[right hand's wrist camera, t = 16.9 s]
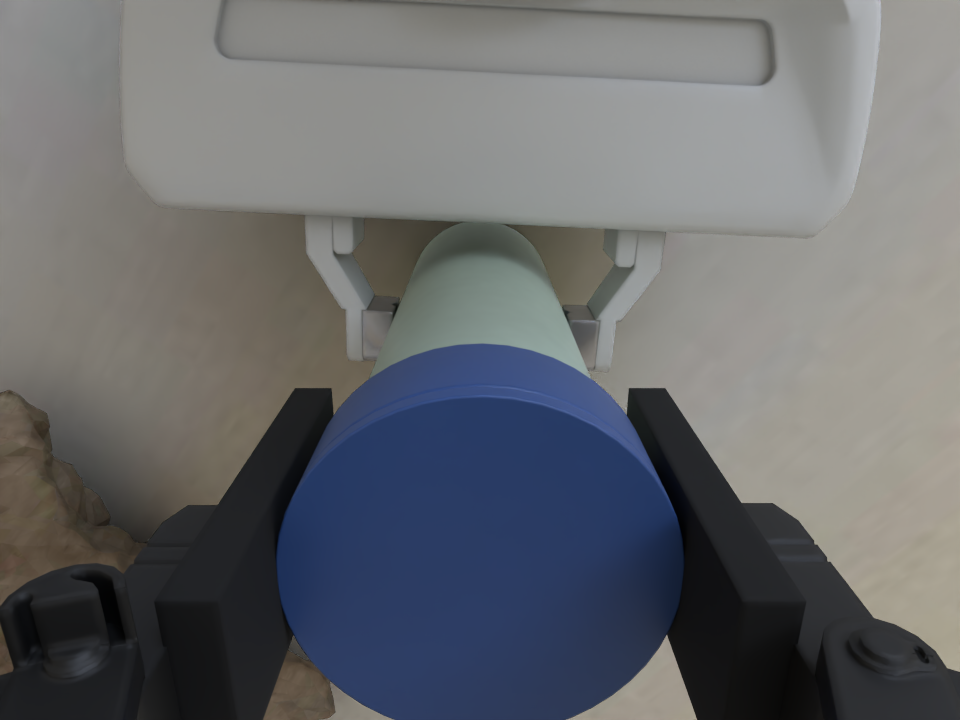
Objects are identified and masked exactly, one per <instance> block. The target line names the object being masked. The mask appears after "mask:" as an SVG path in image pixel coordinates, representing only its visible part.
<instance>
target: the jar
mask: <svg viewBox="0 0 960 720" xmlns="http://www.w3.org/2000/svg"><path fill="white" fill-rule="evenodd" d="M481 343H484V344H497V345H508V346H513V347H518V348H523V349H528V350H532V351H535V352H538V353H541V354H544V355H547V356H550V357H553V358H555V359H557V360H559V361H561V362H563V363H565V364H567V365H569V366H571V367H573V368H575V369H577V370H578V371H580V372H581V373H583V374H584V375H586V376H587V377H589V378H590V375H589V373H588V370H587V368H586V365H585V363H584V361H583V358H582V356H581V353H580V351H579V349H578V346H577V344H576V341H575V339H574V336H573V334H572V332H571V329H570V327H569V324H568V322H567V320H566V317H565V315H564V312H563V310H562V308H561V305H560V303H559V300H558V298H557V295H556V293H555V291H554V288H553V286H552V283H551V281H550V279H549V276H548V274H547V271H546V269H545V267H544V264H543V262H542V260H541V257H540V255H539V254H538V252H537V251H536V249H535V248H534V246H533V245H532V244H531V243H530V242H529V241H528V240H527V239H526V238H525V237H524V236H523V235H521V234H520V233H519V232H517V231H516V230H514V229H512V228H510V227H508V226H505V225H503V224H490V223H469V222H463V223H460V224H457V225H454V226H452V227H450V228H448V229H446V230H444V231H443V232H441V233H440V234H438V235H437V236H436V237H435V238H434V239H432V240H431V241H430V243H429V244H428V245H427V246H426V247H425V249H424V250H423V252H422V253H421V255H420V257H419V259H418V261H417V263H416V266H415V268H414V270H413V273H412V275H411V278H410V280H409V283H408V285H407V287H406V290H405V292H404V295H403V297H402V300H401V302H400V304H399V307H398V309H397V312H396V314H395V317H394V319H393V321H392V324H391V326H390V329H389V331H388V334H387V336H386V338H385V341H384V343H383V346H382V348H381V351H380V353H379V355H378V358H377V360H376V363H375V365H374V368H373V370H372V372H371V375H370V377H369V379H370V378H371V377H373V376H374V375H376V374H377V373H379V372H381V371H382V370H384V369H385V368H387V367H389V366H390V365H392V364H395V363H397V362H399V361H401V360H404V359H406V358H408V357H410V356H413V355H416V354H419V353H422V352H426V351H429V350H432V349H436V348H442V347H448V346H453V345H460V344H481ZM590 379H591V378H590Z"/></svg>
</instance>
